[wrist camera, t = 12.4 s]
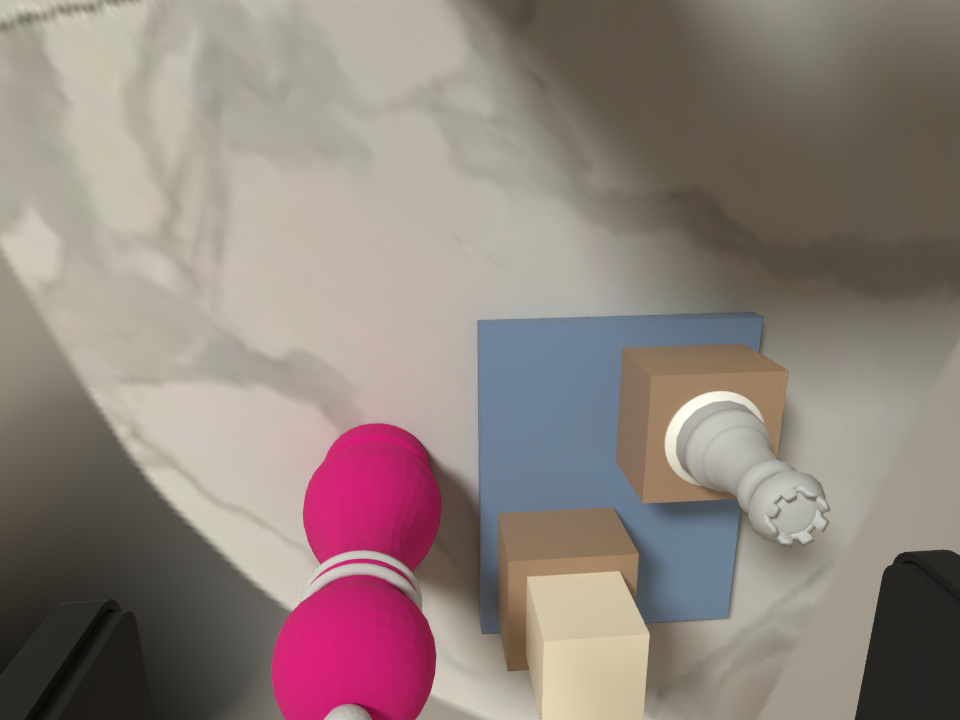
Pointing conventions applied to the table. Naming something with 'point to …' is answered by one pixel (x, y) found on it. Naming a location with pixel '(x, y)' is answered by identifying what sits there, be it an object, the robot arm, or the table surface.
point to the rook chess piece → (751, 472)
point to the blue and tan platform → (605, 493)
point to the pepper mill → (362, 585)
